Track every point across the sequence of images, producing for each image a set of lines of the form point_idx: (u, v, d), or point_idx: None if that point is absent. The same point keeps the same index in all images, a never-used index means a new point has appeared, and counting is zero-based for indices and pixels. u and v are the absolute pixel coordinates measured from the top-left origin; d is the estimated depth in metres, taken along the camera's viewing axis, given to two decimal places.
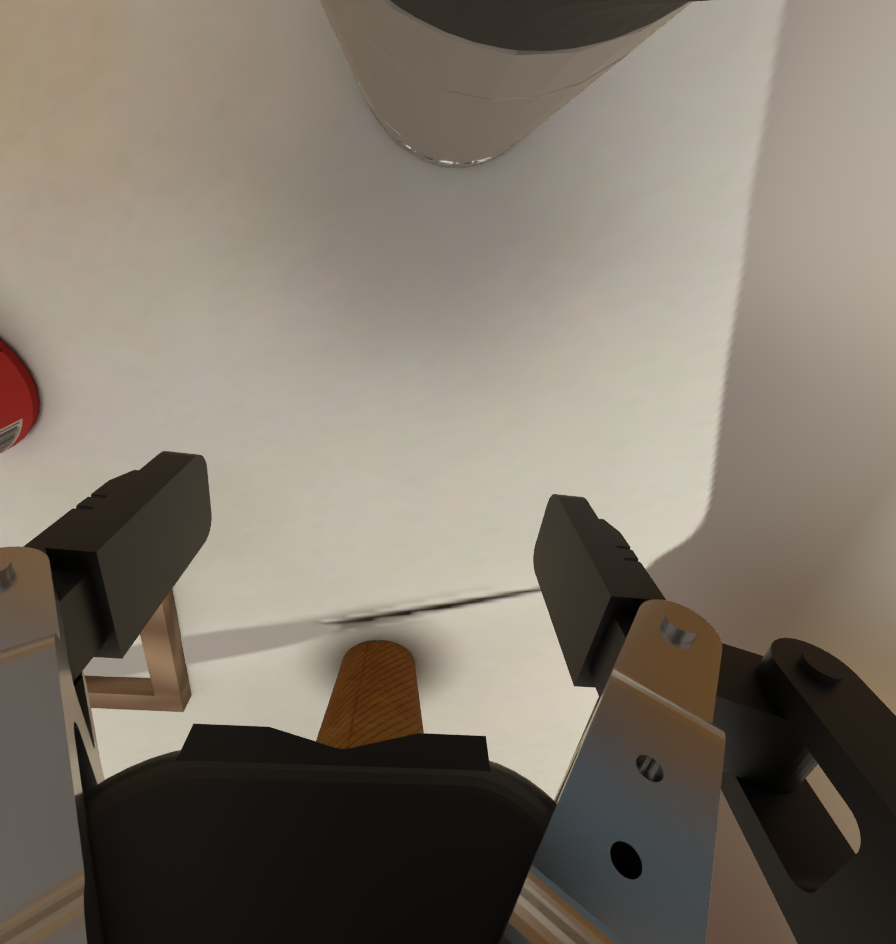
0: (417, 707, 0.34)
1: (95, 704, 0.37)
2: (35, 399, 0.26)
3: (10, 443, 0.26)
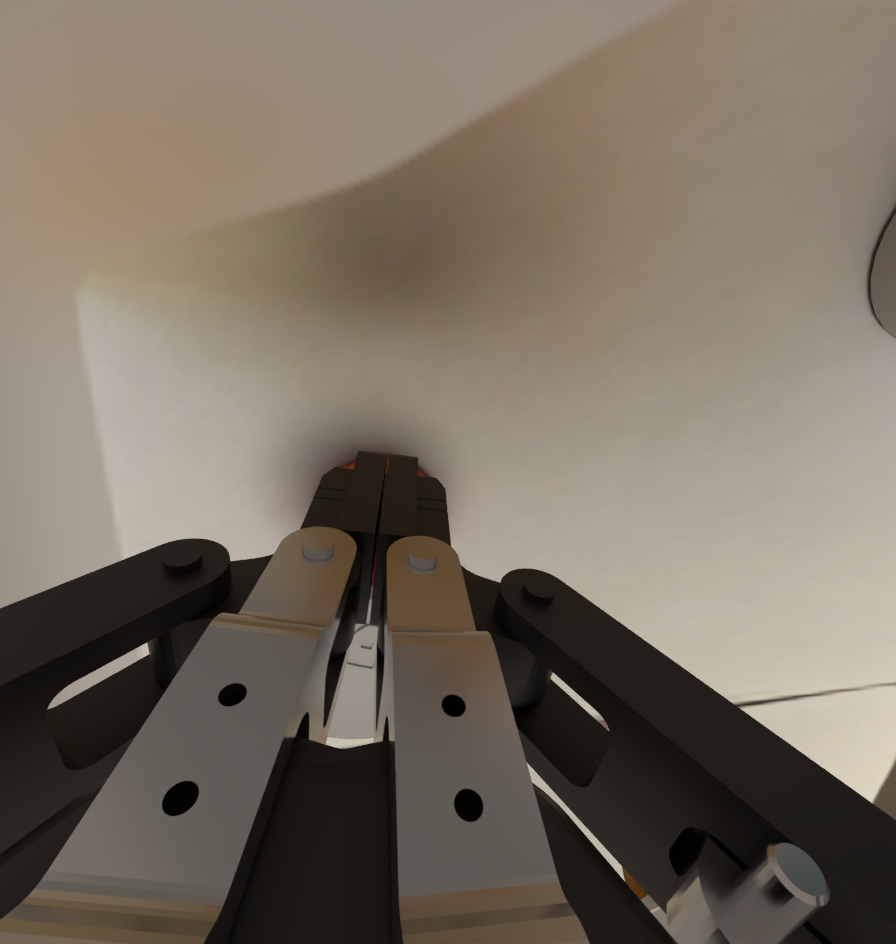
0: None
1: None
2: None
3: None
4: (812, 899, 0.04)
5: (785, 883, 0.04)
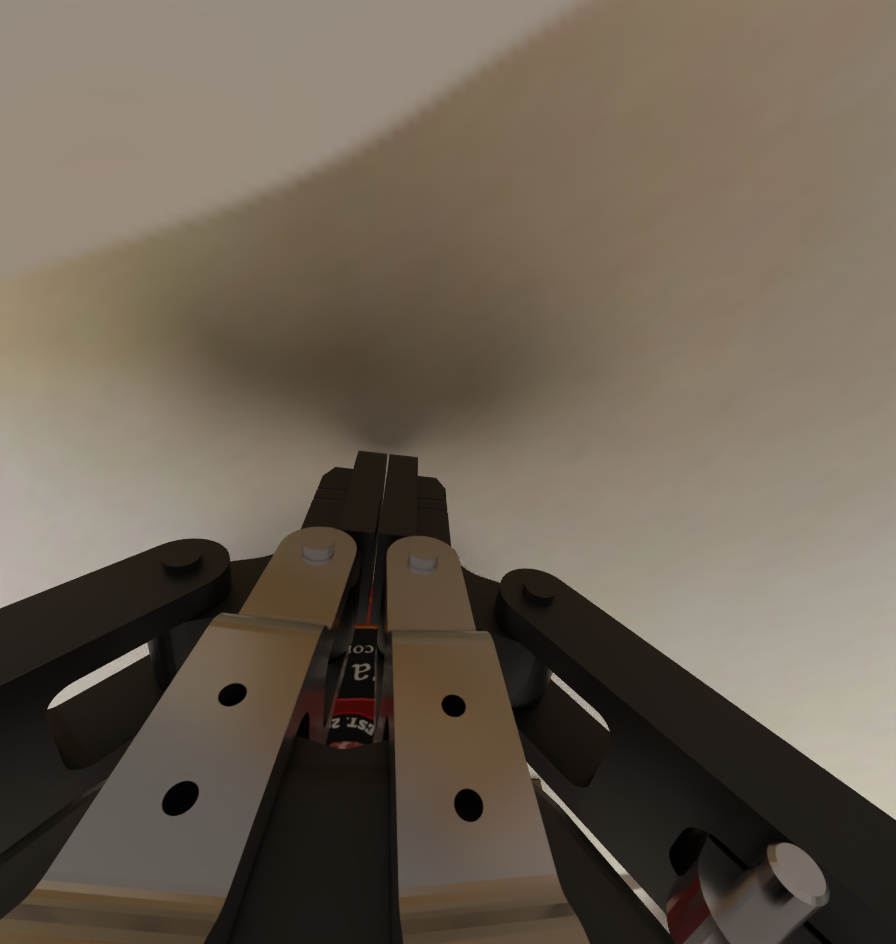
0: None
1: None
2: None
3: None
4: (812, 899, 0.04)
5: (785, 883, 0.04)
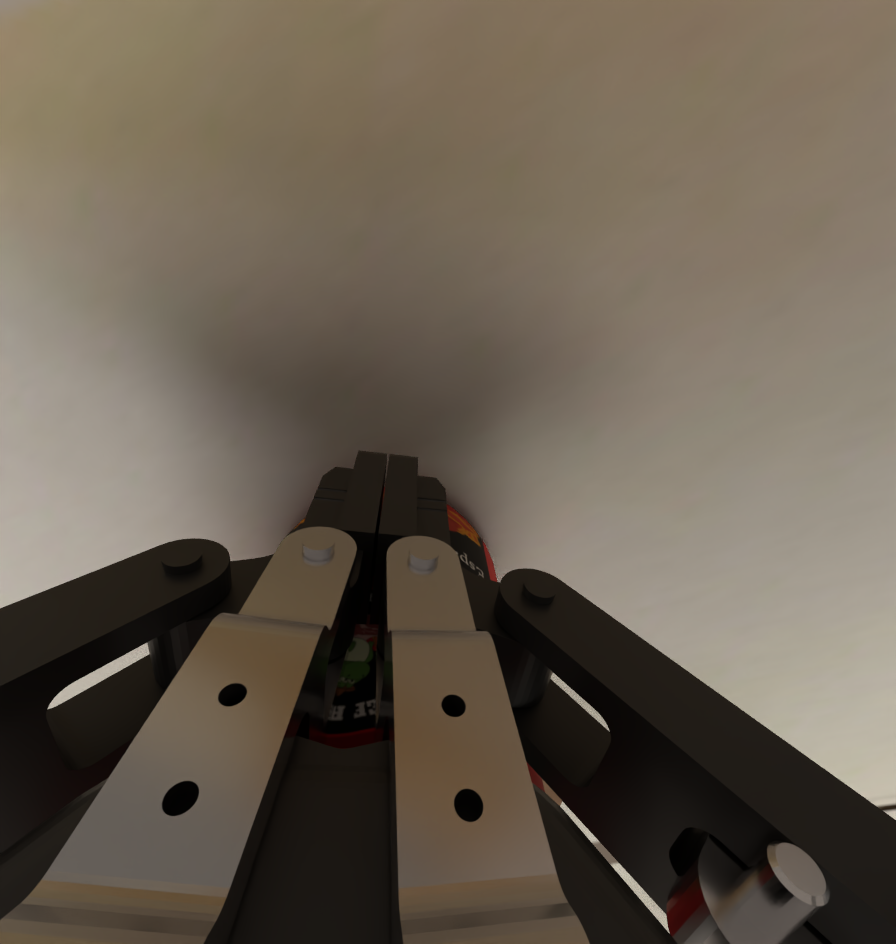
0: None
1: None
2: None
3: None
4: (812, 899, 0.04)
5: (785, 883, 0.04)
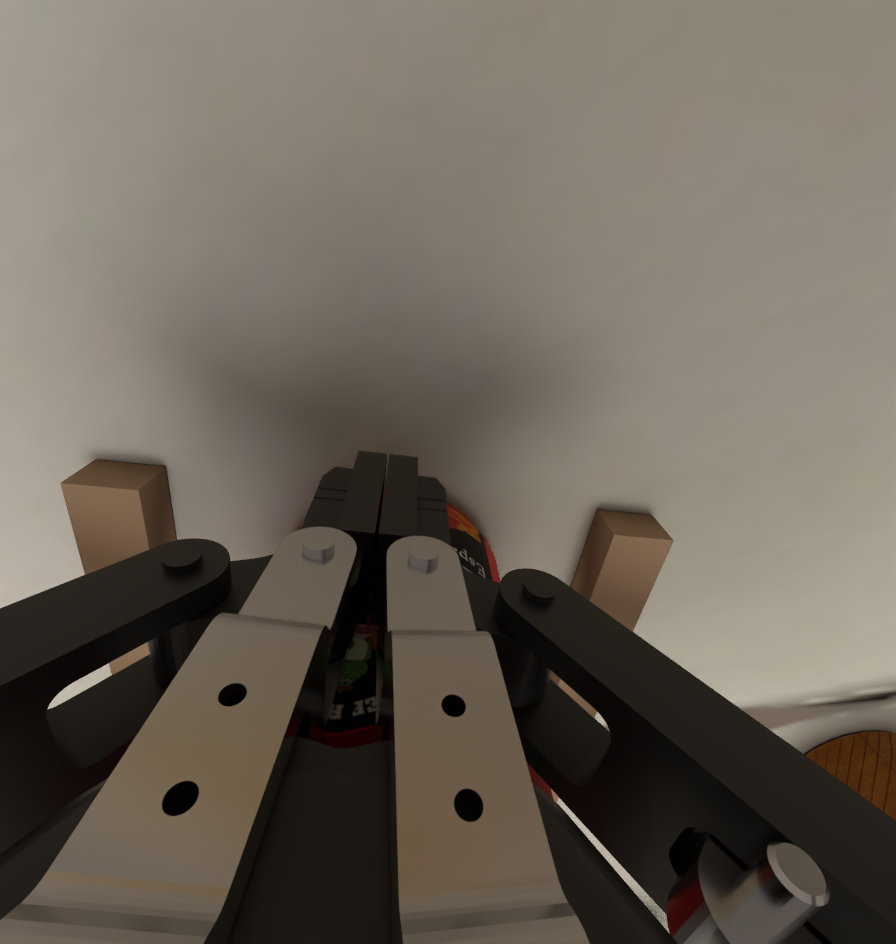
0: None
1: None
2: None
3: None
4: (813, 899, 0.04)
5: (785, 883, 0.04)
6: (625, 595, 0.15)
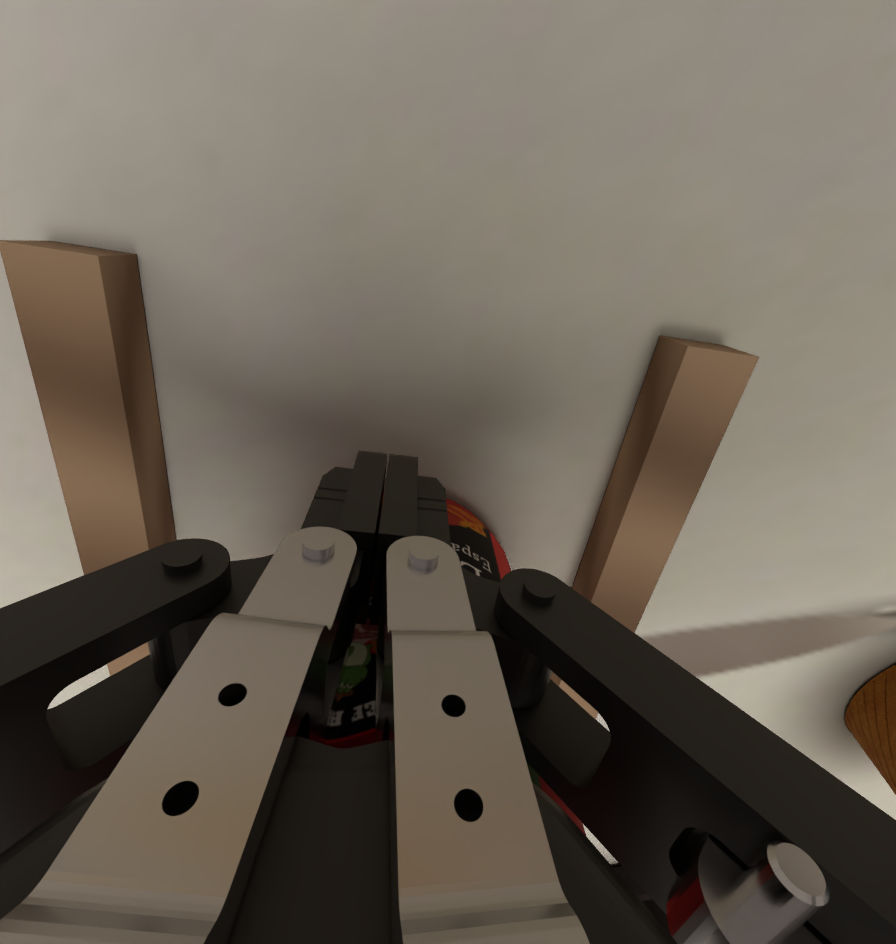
0: None
1: None
2: None
3: None
4: (812, 899, 0.04)
5: (785, 883, 0.04)
6: (694, 437, 0.13)
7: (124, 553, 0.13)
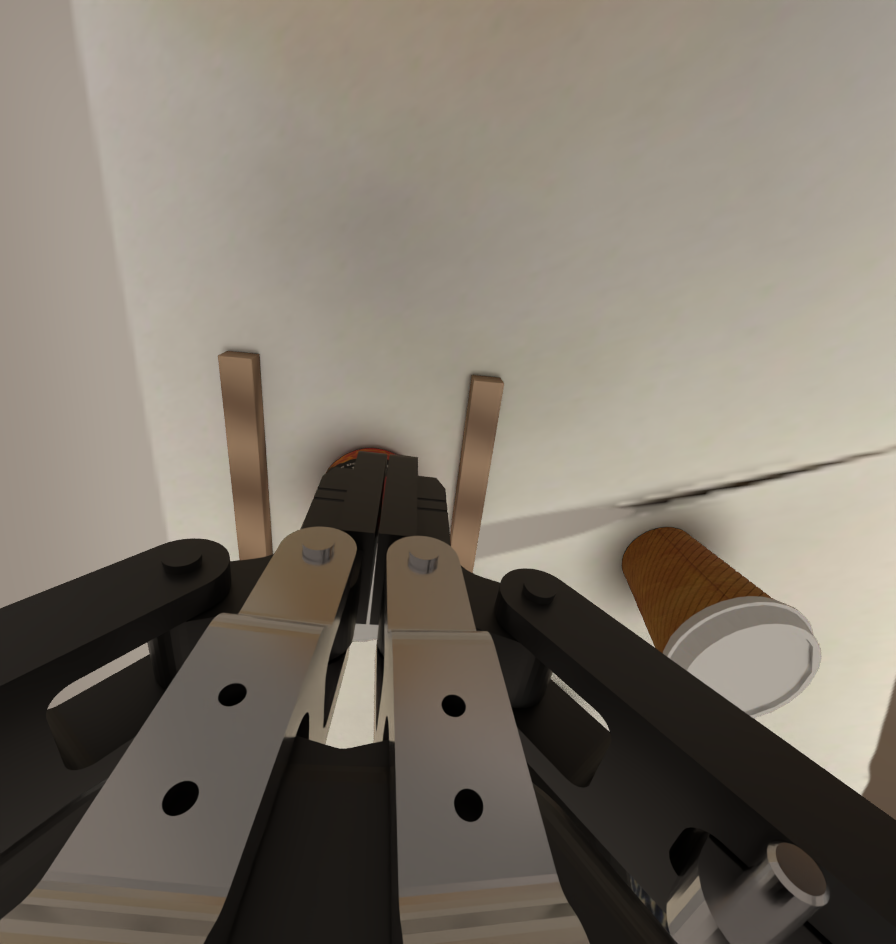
0: None
1: None
2: None
3: None
4: (813, 899, 0.04)
5: (786, 883, 0.04)
6: (486, 416, 0.31)
7: (249, 475, 0.31)
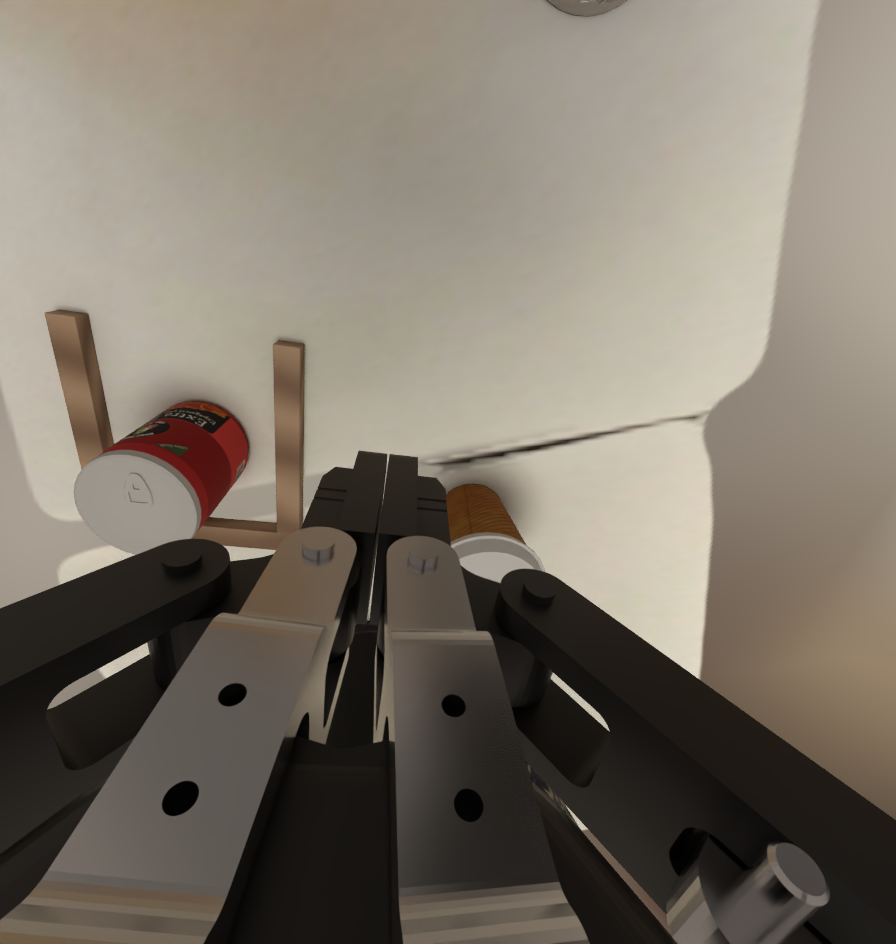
0: None
1: (224, 541, 0.42)
2: (247, 446, 0.39)
3: (238, 477, 0.39)
4: (812, 899, 0.04)
5: (785, 883, 0.04)
6: (289, 376, 0.36)
7: (87, 420, 0.36)
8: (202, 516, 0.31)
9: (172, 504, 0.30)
